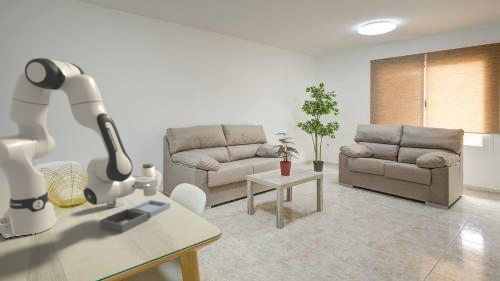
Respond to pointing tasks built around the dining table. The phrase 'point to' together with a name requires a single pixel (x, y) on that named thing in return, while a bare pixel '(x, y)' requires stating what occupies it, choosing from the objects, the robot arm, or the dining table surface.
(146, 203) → the tray
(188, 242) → the dining table surface
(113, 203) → the syrup box
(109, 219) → the frame
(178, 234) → the dining table surface
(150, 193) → the canister
